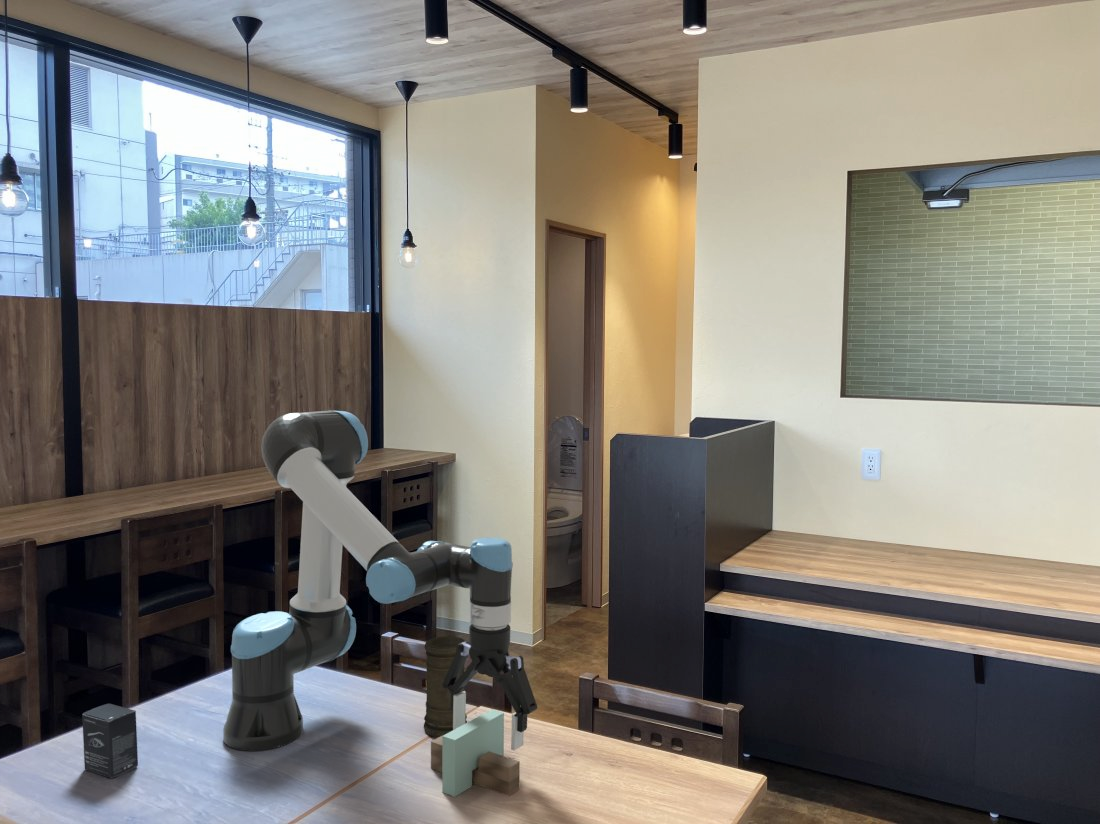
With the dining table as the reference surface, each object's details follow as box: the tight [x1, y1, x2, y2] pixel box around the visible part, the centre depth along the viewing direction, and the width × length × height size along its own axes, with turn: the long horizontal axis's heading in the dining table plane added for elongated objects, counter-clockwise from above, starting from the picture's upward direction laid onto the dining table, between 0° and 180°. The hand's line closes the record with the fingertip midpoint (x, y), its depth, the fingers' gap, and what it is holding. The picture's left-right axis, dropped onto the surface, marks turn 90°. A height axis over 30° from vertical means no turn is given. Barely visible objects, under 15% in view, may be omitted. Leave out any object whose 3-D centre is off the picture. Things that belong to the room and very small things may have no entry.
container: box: [423, 636, 468, 738], centre depth 172 cm, size 9×9×18 cm
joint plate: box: [441, 709, 505, 798], centre depth 151 cm, size 14×3×10 cm, turn 146°
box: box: [81, 703, 139, 779], centre depth 154 cm, size 8×6×11 cm
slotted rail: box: [430, 736, 521, 797], centre depth 151 cm, size 18×3×5 cm, turn 56°
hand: (487, 737), depth 155 cm, fingers open, 13 cm apart
